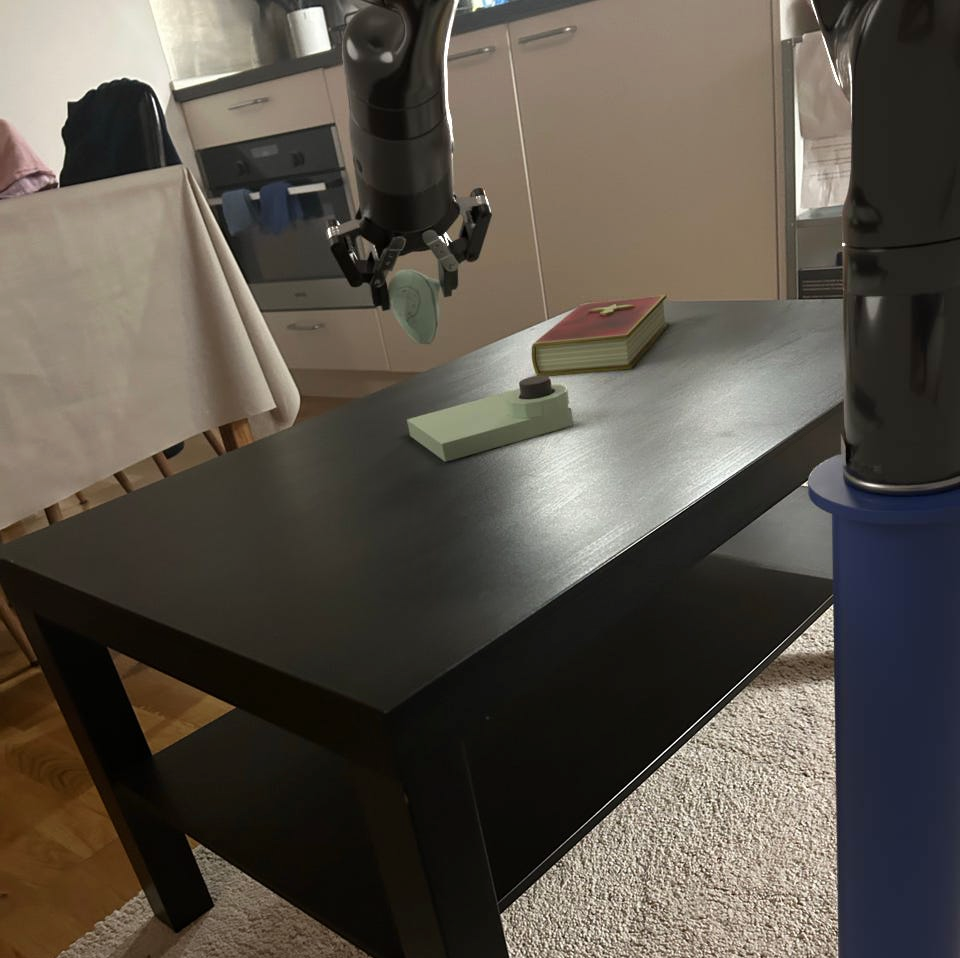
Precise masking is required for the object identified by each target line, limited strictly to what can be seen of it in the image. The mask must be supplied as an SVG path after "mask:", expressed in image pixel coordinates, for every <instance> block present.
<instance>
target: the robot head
mask: <svg viewBox="0 0 960 958" xmlns="http://www.w3.org/2000/svg"><path fill="white" fill-rule="evenodd" d="M387 287H388V295H389V305H390V310H391V311H392V313H393V315H394V317H395V319H396V321H397V323H398V324H399V325H400V327H401V328H402V330H403V331H404V332H405V333H406V335H408V336H409V337H410V340H412V341H415V342H416V343H418V344H420V345H431V344H432V342H433V341H434V339H435V338H436V337H437V334H438V331H439V328H440V289H441V286H440V282H439V279H436V278H433V277H430V276H428V275H426V274H424V273H421V272H420V271H417V270H413V269H401V270H398V271H397V272H395V274H394V275H393V276H392V278H391V279H390V281H389V282H388V285H387Z"/></svg>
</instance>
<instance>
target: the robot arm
mask: <svg viewBox="0 0 960 958" xmlns="http://www.w3.org/2000/svg"><path fill="white" fill-rule="evenodd" d="M360 1H361V2H364V3H367V4H370V5H367V6H365V7H363V8H361V9H359V10H358V11H357V12H356V13H355V14H354V15H352V17H351V18H350V19H349V21H348V23H347V24H346V27H345V29H344V31H343V35H342V43H341V56H342V65H343V73H344V78H345V86H346V93H347V98H348V108H349V109H348V111H349V115H348V116H349V117H348V119H349V120H348V132H349V141H350V148H351V155H352V162H353V169H354V175H355V183H356V189H357V197H358V203H359V204H358V208H357V210H356V213H355V214H354V219H351V220H348V221H346V222H344V223H339V222H340V221H339V220H337V219H335V218H330V219H328V220H326V221H325V222H324V224H323V226H324V227H323V228H324V231H325V234H326V238H327V243H328V245H329V249H330V252H331V253H332V255H333V257H334V259H335V262H337V265H338V267H339V268H340V270H341V271H342V273H343V275H344V277H345V279H346V281H347V282H348V284H349V286H350V287H351V288H359V287H361V286H362V285H363V284H368V287H369V293H370V297H371V300H372V304H373V305H374V306H375V308H377V307H380V309H381V311H382V312H386V311H390V310H391V307H390V305H389V295H388V283H387V277H388V274H389V273H390V272H393V270H394V267H395V265H396V264H397V260H398V258H399V257H403V256H406V255H408V254H412V253H419V252H420V253H422V252H426V251H431V252H432V254H433V255H434V257H435V258H436V259H437V270H438V274H437V275H438V280H439V282H440V289H441V293H442V296H443V298H449V297H452V296H453V291H454V290H457V289H458V287H459V267H460V265H461V264H462V263H463V262H468V263H474V262H476V261H477V260H479V258H480V255H481V252H482V249H483V245H484V242H485V239H486V235H487V233H488V230H489V227H490V223H491V220H492V216H493V213H492V211H491V207H490V204H489V201H488V198H487V195H486V192H485V189H484V188H482V187H476V188H474V189H472V190H471V191H470V194H469V196H458V197H457V194H456V193H455V191H454V151H455V139H454V136H453V124H452V116H451V112H450V106H449V84H448V80H449V79H448V52H449V46H450V41H451V34H452V29H453V25H454V21H455V16H456V13H457V9H458V5H459V2H460V0H360ZM810 1H811V5H812V8H813V11H814V14H815V16H816V20H817V23H818V26H819V28H820V32H821V35H822V39H823V42H824V46H825V48H826V51H827V55H828V58H829V61H830V65H831V68H832V72H833V74H834V77H835V80H836V82H837V84H838V87H839V88H840V90H841V92H842V94H843V95H844V97H845V99H846V100H847V101H848V102H849V103H850V105H851V106H850V107H851V109H850V110H851V111H850V115H851V116H850V120H851V121H850V123H851V125H850V132H851V133H850V173H849V181H848V188H847V194H846V196H845V199H844V202H843V205H842V209H841V235H842V236H841V241H842V242H841V244H842V248H841V249H842V322H843V323H842V339H843V340H842V343H843V344H842V345H843V346H842V347H843V348H842V350H843V353H842V354H843V355H842V356H843V360H842V361H843V434H840V454H842V456H843V459H844V464H843V480H844V482H845V483H846V484H847V485H849V486H850V487H852V488H854V489H856V490H858V491H861V492H865V493H869V494H874V495H881V496H892V497H912V496H925V495H932V494H938V493H943V492H947V491H951V490H954V489H957V488H960V0H810ZM459 216H461V217H462V223H461V227H460V230H459V233H458V238H456V239H455V240H451V238H450V236H449V234H448V233H447V232H448V230H449V229H450V228H451V227H452V226H453V224H454V223H456V221H457V220H458V218H459ZM360 236H361V238H363V239H364V240H365V241H367V242H368V244H369V247H368V250H367V252H366V255H365V258H364V259H358V257H357V255H356V253H355V251H354V248H355V247H356V246H357V241H356V240H357V238H358V237H360ZM842 435H843V436H842Z"/></svg>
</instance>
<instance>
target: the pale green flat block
mask: <svg viewBox="0 0 960 958" xmlns="http://www.w3.org/2000/svg"><path fill="white" fill-rule="evenodd" d="M551 385H552V392H553V394H551V395H549V396H545V397H542V398H537V399H521V393H520V388H516V389H513V390H509V391H505V392H502V393H498V394H495V395H491V396H488V397H487V396H486V397H484V398H480V399H477V400H473V401H469V402H465V403H462V404H458V405H455V406H451V407H448V408H443V409H440V410H437V411H433V412H428V413H425V414H422V415H418V416H415V417H410V418H407V419H406V422H407V423H406V424H407V428H408V432H409V436H410V437H411V438H412V439H414V440H415V441H416V442H418V443H419V444H420V445H422V446H423V447H425V448H426V449H427V450H428V451H430V452H431V453H432V454H434V455H435V456H437V457H438V458H439V459H441V460H442V461H443V462H444V463H447V462H450V461H451V462H452V461H454V460H458V459H461V458H465V457H469V456H472V455H475V454H478V453H482V452H486V451H489V450H493V449H496V448H499V447H503V446H508V445H510V444H514V443H517V442H520V441H524V440H527V439H531V438H534V437H538V436H541V435H544V434H548V433H551V432H555V431H559V430H562V429H565V428H569V427H573V426H574V421H573V420H574V419H573V412H572V407H571V406H569V404H570V397H569V392H568V391H569V390H568V388H567V386H564V385H562V384H551Z"/></svg>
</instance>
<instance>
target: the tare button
mask: <svg viewBox="0 0 960 958" xmlns="http://www.w3.org/2000/svg"><path fill="white" fill-rule="evenodd" d="M552 385H553V384H552V379H551V376H550V375H549V376H537V375H534V376H529V377H525V378H523V379H521V380H520V381H519V382H518V386H519V389H520V393H521V399H537V398H542V397H545V396H549V395H551V394H553V392H552Z"/></svg>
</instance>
